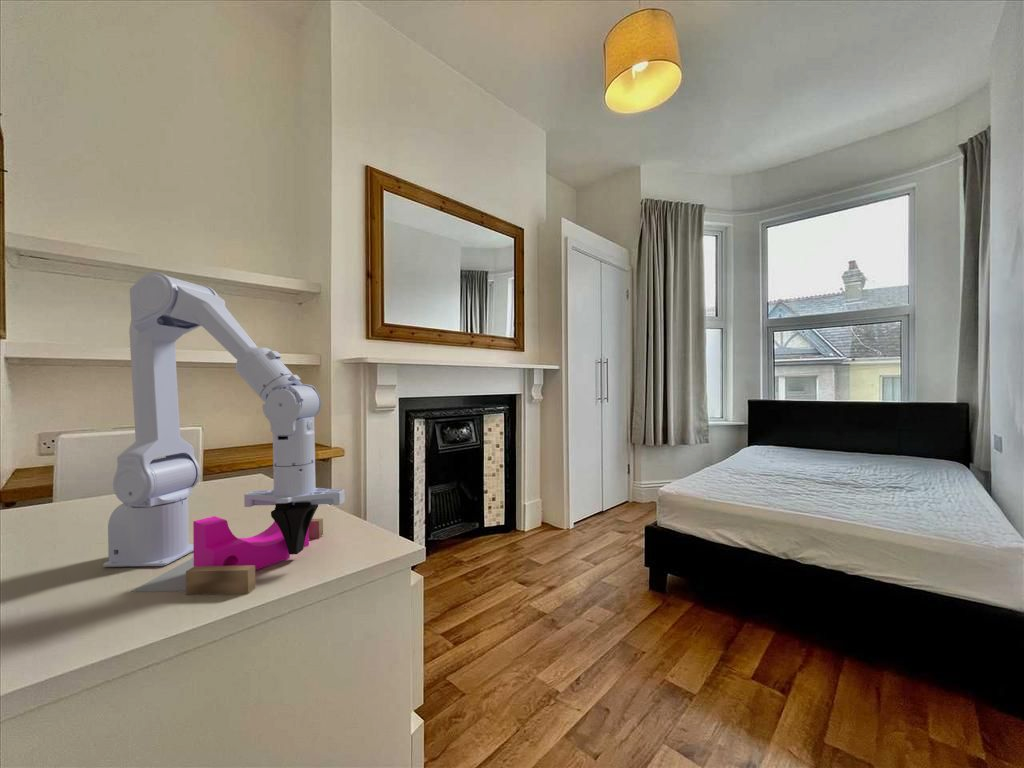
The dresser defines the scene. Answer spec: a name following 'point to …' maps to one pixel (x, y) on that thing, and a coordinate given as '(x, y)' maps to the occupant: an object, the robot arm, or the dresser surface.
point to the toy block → (237, 545)
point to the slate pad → (168, 580)
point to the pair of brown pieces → (231, 573)
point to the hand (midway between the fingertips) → (296, 551)
